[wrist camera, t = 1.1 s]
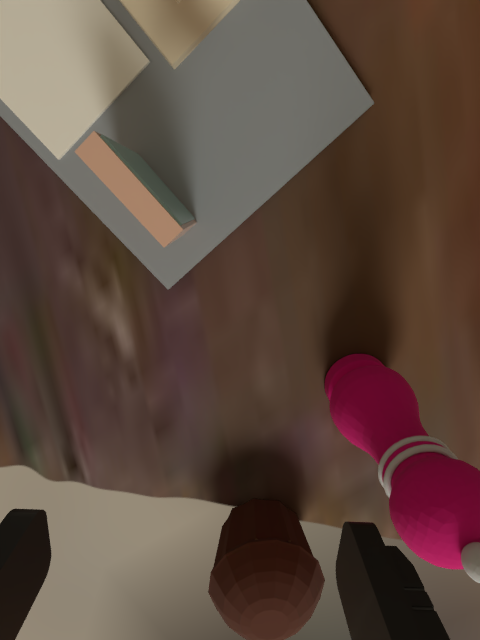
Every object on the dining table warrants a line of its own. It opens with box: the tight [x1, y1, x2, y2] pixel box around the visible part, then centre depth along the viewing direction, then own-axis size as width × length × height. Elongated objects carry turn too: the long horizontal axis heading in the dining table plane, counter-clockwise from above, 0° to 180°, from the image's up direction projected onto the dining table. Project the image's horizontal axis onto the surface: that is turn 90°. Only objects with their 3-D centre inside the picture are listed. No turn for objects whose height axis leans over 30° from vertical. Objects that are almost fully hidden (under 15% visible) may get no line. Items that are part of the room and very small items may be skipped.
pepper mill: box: [325, 354, 480, 583], centre depth 27 cm, size 7×7×20 cm
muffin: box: [208, 499, 325, 640], centre depth 37 cm, size 12×11×10 cm
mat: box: [0, 0, 374, 289], centre depth 27 cm, size 22×24×1 cm
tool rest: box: [0, 0, 150, 160], centre depth 26 cm, size 10×10×1 cm
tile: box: [75, 131, 197, 248], centre depth 25 cm, size 2×7×9 cm, turn 41°
